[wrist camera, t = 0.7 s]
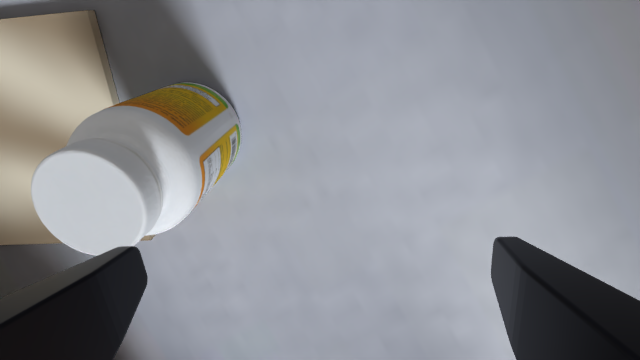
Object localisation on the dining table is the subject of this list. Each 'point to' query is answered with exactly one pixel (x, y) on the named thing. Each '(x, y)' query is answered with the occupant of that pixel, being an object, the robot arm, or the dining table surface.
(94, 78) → the birch mat
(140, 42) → the dining table surface
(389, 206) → the dining table surface
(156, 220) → the supplement bottle
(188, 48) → the dining table surface
